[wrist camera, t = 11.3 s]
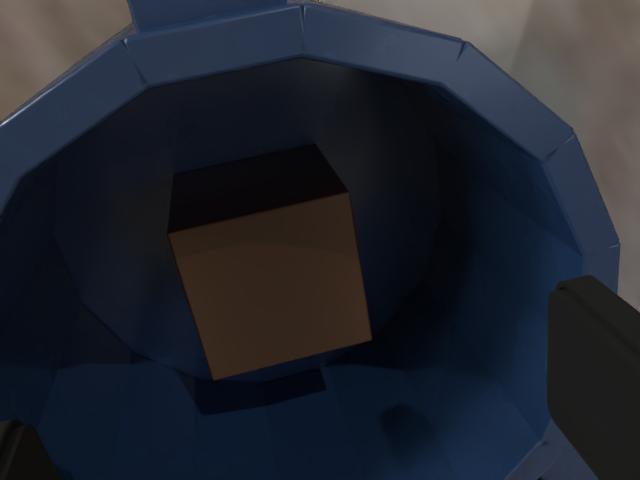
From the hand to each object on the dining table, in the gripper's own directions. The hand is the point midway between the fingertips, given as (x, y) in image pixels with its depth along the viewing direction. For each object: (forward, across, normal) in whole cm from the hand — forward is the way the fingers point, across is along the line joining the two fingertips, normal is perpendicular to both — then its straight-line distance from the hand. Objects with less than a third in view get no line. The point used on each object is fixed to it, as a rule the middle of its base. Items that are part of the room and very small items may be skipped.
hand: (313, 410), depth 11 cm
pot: (+10, 0, 0) cm, 10 cm away
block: (+9, 0, 0) cm, 9 cm away
